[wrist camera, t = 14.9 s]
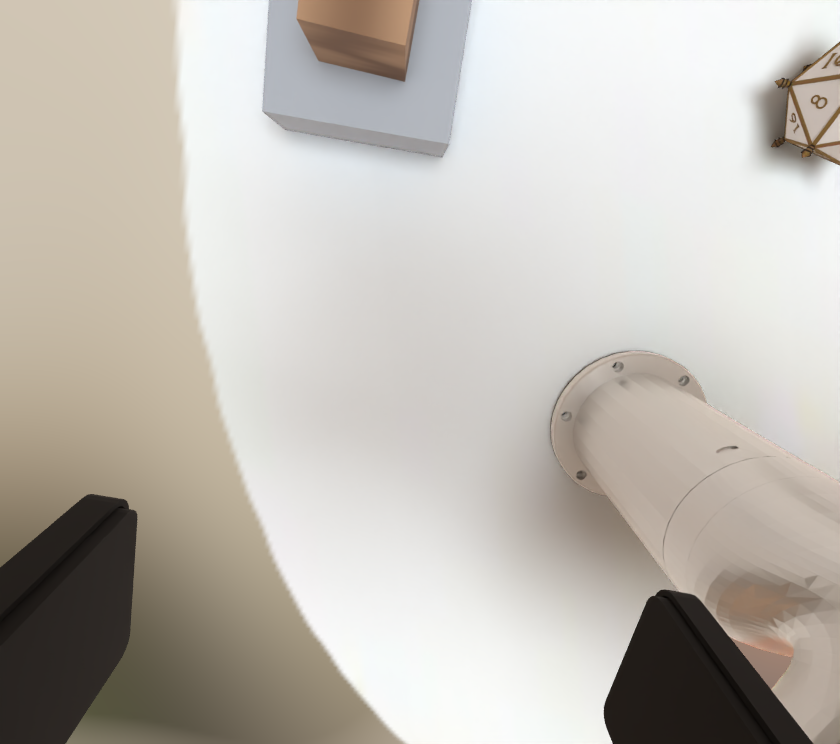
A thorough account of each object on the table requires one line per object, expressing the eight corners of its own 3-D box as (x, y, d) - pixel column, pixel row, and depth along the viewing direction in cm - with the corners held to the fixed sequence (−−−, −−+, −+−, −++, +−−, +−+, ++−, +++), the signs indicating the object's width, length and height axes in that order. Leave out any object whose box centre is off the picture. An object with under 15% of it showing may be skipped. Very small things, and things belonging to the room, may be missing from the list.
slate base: (470, -24, 32) (484, -78, 26) (441, 157, 35) (449, 144, 29) (300, -58, 31) (276, -122, 26) (286, 130, 34) (262, 111, 29)
